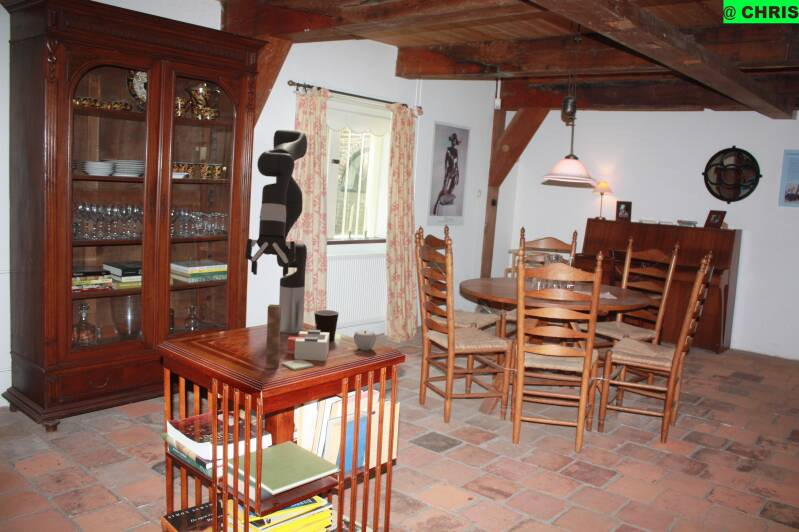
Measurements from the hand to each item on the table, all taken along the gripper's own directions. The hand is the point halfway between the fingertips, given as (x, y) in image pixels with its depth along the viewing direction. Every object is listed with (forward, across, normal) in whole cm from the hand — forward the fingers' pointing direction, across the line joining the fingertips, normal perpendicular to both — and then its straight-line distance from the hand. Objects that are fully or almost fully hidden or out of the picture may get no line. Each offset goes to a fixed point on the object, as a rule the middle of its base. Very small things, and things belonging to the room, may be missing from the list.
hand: (269, 275), depth 191 cm
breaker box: (+25, -12, -24) cm, 37 cm away
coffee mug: (+22, -15, -45) cm, 52 cm away
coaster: (+27, -8, -11) cm, 31 cm away
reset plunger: (+24, -7, -24) cm, 34 cm away
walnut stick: (+28, -1, -9) cm, 29 cm away
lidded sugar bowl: (+24, -29, -33) cm, 50 cm away
